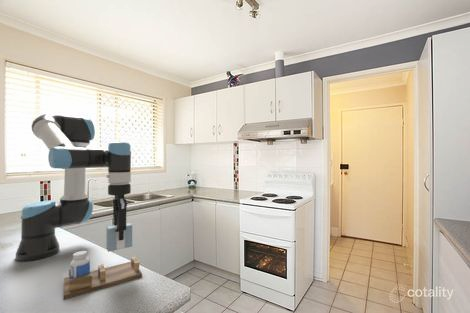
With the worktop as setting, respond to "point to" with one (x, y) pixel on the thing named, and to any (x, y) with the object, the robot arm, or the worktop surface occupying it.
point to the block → (112, 237)
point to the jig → (101, 278)
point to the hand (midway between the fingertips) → (119, 246)
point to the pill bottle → (80, 264)
